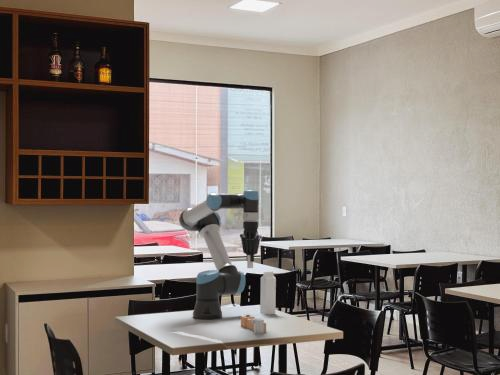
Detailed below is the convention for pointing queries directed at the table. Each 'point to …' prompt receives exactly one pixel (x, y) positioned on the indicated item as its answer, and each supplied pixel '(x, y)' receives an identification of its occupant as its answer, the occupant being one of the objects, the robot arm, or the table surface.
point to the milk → (268, 293)
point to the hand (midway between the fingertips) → (250, 267)
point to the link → (249, 322)
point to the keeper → (258, 325)
